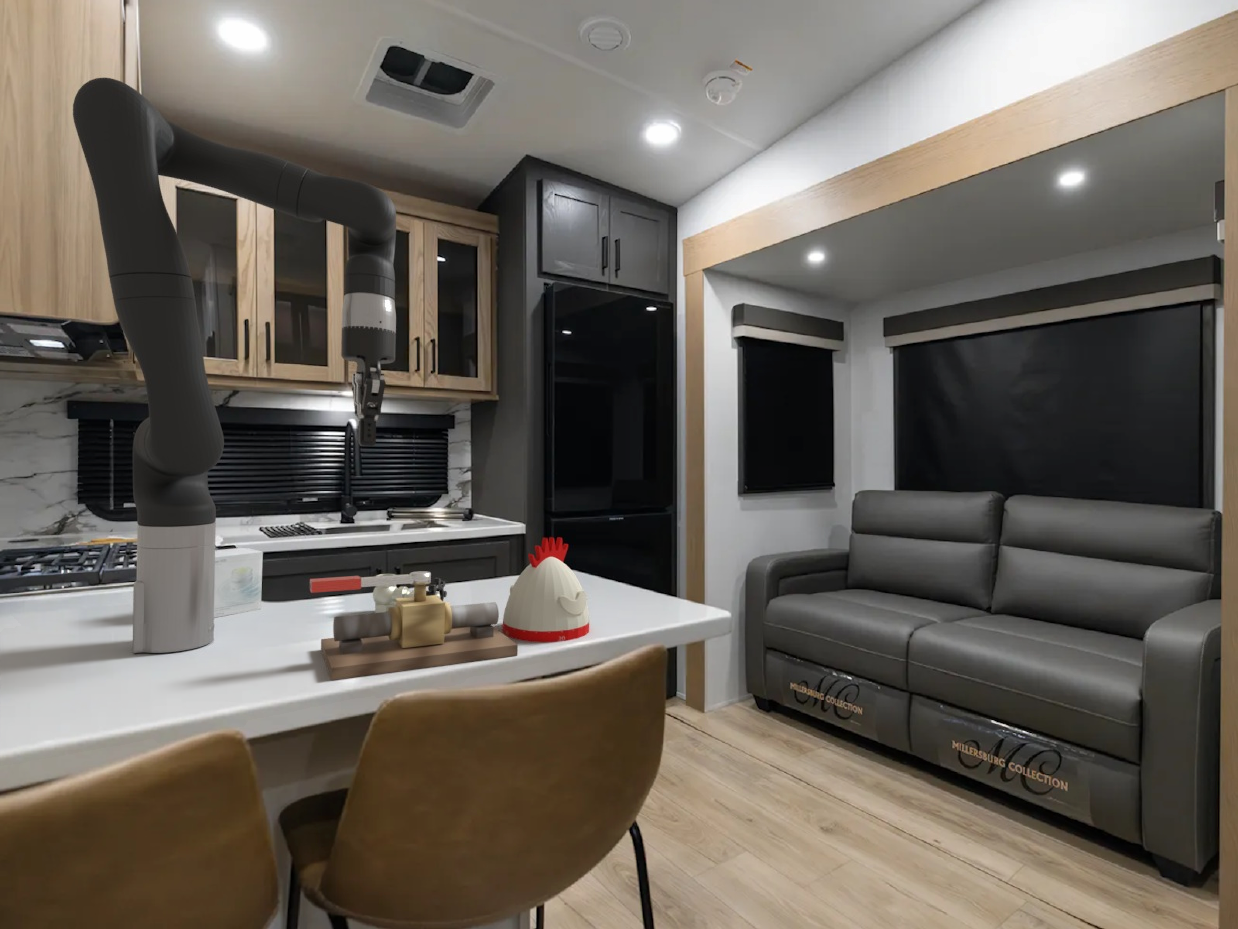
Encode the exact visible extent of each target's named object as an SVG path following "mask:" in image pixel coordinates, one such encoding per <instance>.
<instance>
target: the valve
mask: <svg viewBox="0 0 1238 929" xmlns="http://www.w3.org/2000/svg"><path fill="white" fill-rule="evenodd" d="M390 575H396V574H395V573H380V574H376V575H375V576H390ZM433 583H435V584H428V587H427V588H428V590H426V596H432V595H436V596H437V597H438V598H439V599H441V600H442V601H443V602H444V598H447V595H448V592H447V591H446V590H444V587H446V581H445V580H442V579H441V578H440V577H435V578H433ZM372 592H373V593H372V598H373V601H374V604H375V605H374V606H375V607H374V613H381V612H388V608H389V607H395V598H407V597H414V589H413V590H410V589H409V588H408V587H407V586H399V587H397V584H396V585H383V586H374V588H373V591H372Z"/></svg>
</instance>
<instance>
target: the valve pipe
mask: <svg viewBox="0 0 1238 929" xmlns="http://www.w3.org/2000/svg"><path fill="white" fill-rule="evenodd" d="M413 588H414V589H413V590H414V597H407V598H395V607H389V608H388V612H381V613H375V612H373V613H360V614H349V615H339V616H336V615H335V616H334V617H333V625H332V626H333V627H332V630H333V631H332V632H333V637H330V638H329V637H327V638H321V640H320V644H321V645H320V651H321V654H322V656H323V659H324V663H325V666H326V669H327V672H328V674H329V678H330V681H334V680H335V681H336V680H344V679H351V678H359V677H367V676H373V675H380V674H389V673H395V672H396V673H397V672H403V671H411V670H418V669H425V668H426V669H427V668H432V667H439V666H448V665H455V664H456V665H457V664H463V663H470V662H471V663H472V662H477V661H487V660H493V659H501V658H502V659H503V658H507V657H516V656H518V648H519V647H518V644H517V643H516V642H515V641H514V640H512V638H511V639H510V637H509V636H507V635H505V634H504V632H501V631H500V630H498V629H497V628H496V627H495V626H493V625H497V624H498V622H499V614H500V612H499V607H498V604H497V603H496V602H495V601H494V602H483V603H472V604H469V603H468V604H459V605H451V604H450V602H449V601H446V602H444V600H443V601H442V600H441V599H439V598H438V597H437V596H436V595H432V596H426V591H427V584H425V585H413Z"/></svg>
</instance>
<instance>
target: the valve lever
mask: <svg viewBox="0 0 1238 929" xmlns="http://www.w3.org/2000/svg"><path fill="white" fill-rule="evenodd" d="M431 576H432V573H431V572H430V571H427V570H425V571H422V570H419V571H412V572H410V573H409V574H408V573H407V574H395V575H390V576H376V575H375V576H364V577H362V576H359V575H351V576H350V575H349V576H335V577H323V578H321V577H320V578H309V590H310V593H311V594H315V593H327V592H339V591H340V592H341V591H352V590H353V591H354V590H362V588H367V587H368V588H369V587H376V586H383V585H396V586H397V585H407V584H410V585H413V586H414V585H425V584H426V585H431V582H432V581H431V580H432V579H431V578H432V577H431Z"/></svg>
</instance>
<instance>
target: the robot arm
mask: <svg viewBox="0 0 1238 929" xmlns="http://www.w3.org/2000/svg"><path fill="white" fill-rule="evenodd" d="M76 92H77V93H76V94H75V97H74V100H73V103H72V117H73V118H72V119H73V123H74V127H75V129H76V130H75V131H76V133H77V136H78V139H79V144H80V146H81V149H82V152H83V155H84V158H85V163H86V164H87V165H86V166H87V167H88V171H89V173H90V178H91V181H92V185H93V190H94V194H95V198H96V202H97V208H98V210H97V211H98V216H99V221H100V222H99V223H100V228H101V235H102V241H103V246H104V252H105V257H106V264H107V270H108V278H109V283H110V288H111V293H112V299H113V304H114V308H115V312H116V315H117V319H118V321H119V324H120V326H121V329H122V331H123V334H124V336H125V338H126V340H127V343H128V344H129V346H130V348H131V350H132V352H133V354H134V356H135V358H136V361H137V362H138V363H137V364H139V366H140V367H139V368H140V370H141V372H142V375H143V379H144V380H143V381H144V384H145V389H146V397H147V403H148V417H147V418H145V419H144V420H143V421H142V422H141V423H140V424H139V426H138V427H137V429H136V431H135V434H134V437H133V442H132V443H133V444H132V491H133V494H132V495H133V496H132V497H133V501H134V506H135V508H136V514H137V516H136V517H137V522H136V523H137V528H136V535H137V536H136V537H137V538H136V541H137V542H136V546H137V547H136V580H135V582H134V583H133V592H132V593H133V596H132V597H133V598H132V653H133V654H137V653H148V654H149V653H151V654H157V653H159V654H160V653H161V654H162V653H172V652H181V651H188V650H192V649H196V648H200V647H203V646H206V645H208V644H210V643H213V642H214V638H215V637H214V636H215V633H214V632H215V618H214V592H215V550H216V521H217V520H216V518H217V515H216V514H217V508H216V505H215V504H216V503H215V502H214V500H213V499H212V496H211V493H210V491H209V485H208V484H209V480H208V475H209V473H208V472H209V471H210V470H212V469H213V468H214V467H215V466H216V465H217V464H218V462H219V461H220V459H221V457H222V456H223V452H224V445H225V439H224V438H225V437H224V432H223V430H222V426H221V422H220V418H219V416H218V412H217V410H216V407H215V402H214V400H213V396H212V392H211V388H210V386H209V382H208V378H207V372H206V367H205V360H204V351H203V342H202V336H201V330H200V324H199V317H198V311H197V303H196V296H195V290H194V284H193V278H192V275H191V274H192V273H191V270H190V266H189V262H188V259H187V256H186V253H185V250H184V248H183V245H182V242H181V240H180V237H179V236H178V233H177V230H176V229H175V227H174V224H173V222H172V219H171V217H170V214H169V213H168V210H167V207H166V204H165V201H164V198H163V194H162V191H161V183H160V177H159V176H161V177H167V178H172V179H176V180H177V179H178V180H180V181H185V182H190V183H193V184H198V185H202V186H206V187H209V188H212V189H216V190H220V191H223V192H224V193H228V194H230V195H233V196H237V197H239V198H242V199H245V200H247V201H250V202H253V203H255V204H258V205H260V206H261V205H262V206H264V207H266V208H269V209H272V210H275V211H278V212H281V213H282V214H286V215H290V216H292V217H295V218H297V219H301V220H302V221H307V222H309V223H310V222H311V223H321V222H322V221H326V222H330V223H333V224H337V225H339V226H344V227H346V228H347V260H346V263H345V267H344V282H343V284H344V285H343V286H344V290H343V291H344V292H343V293H344V294H343V295H344V296H343V304H342V309H341V344H340V345H341V347H340V348H341V350H340V351H341V352H340V356H341V358H342V359H343V360H346V361H349V362H354V363H356V371H355V373H352V375H351V384H352V387H351V391H352V397H353V398H352V399H353V406H354V414H355V417H356V418H357V421H358V433H357V434H358V436H357V438H358V440H357V441H358V444H359V446H366V447H367V446H368V447H369V446H371V447H373V446H375V445H376V442H377V440H376V439H377V421H378V418H379V416H380V415H381V413H382V406H383V399H384V394H385V389H386V388H385V387H386V385H387V384H386V379H385V373H382V366H381V365H385V364H391V363H394V362H395V360H396V339H397V335H396V334H397V332H396V331H397V328H396V327H397V313H396V304H395V300H396V299H395V297H396V276H395V275H396V274H395V269H394V262H395V251H396V241H397V240H396V239H397V238H396V237H397V212H396V210H397V209H396V206H395V204H394V202H393V201H392V198H391V197H389V195H388V193H387V194H386V192H385V191H383V190H381V189H380V188H377V187H376V186H374V185H372V184H369V183H366V182H364V181H359V180H356V179H352V178H351V179H350V178H347V177H346V178H345V177H341V176H337V175H329V174H323V173H320V172H318V171H315V170H314V169H310V168H309V167H305V166H303V165H300V164H297V163H294V162H292V161H289V160H287V159H284V158H281V157H278V156H275V155H271V154H268V153H265V152H259V151H256V150H249V149H244V148H239V147H238V148H237V147H233V146H229V145H225V144H223V143H222V144H221V143H218V142H216V141H212V140H210V139H208V138H207V139H206V138H204V137H201V136H199V135H197V134H194V133H193V132H190V131H189V130H187V129H185V128H183V127H181V126H179V125H177V124H175V123H173V122H171V121H170V120H168V119H167V118H165V117H164V116H163V115H162V114H161V112H159V110H158V109H157V108H156V107H155V106H154V105H153V104H152V103H151V101H149V100H148V99H147V98H146V97H145V96H144V95H143V94H141V93H140V92H139V91H138V90H136V89H135V88H133V87H132V86H130V85H129V84H127V83H125V82H122V81H120V80H118V79H115V78H111V77H96V78H93V79H90V80H88V81H87V82H85V83H84V84H82V86H80V88H79V89H78V90H77V91H76Z"/></svg>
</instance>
